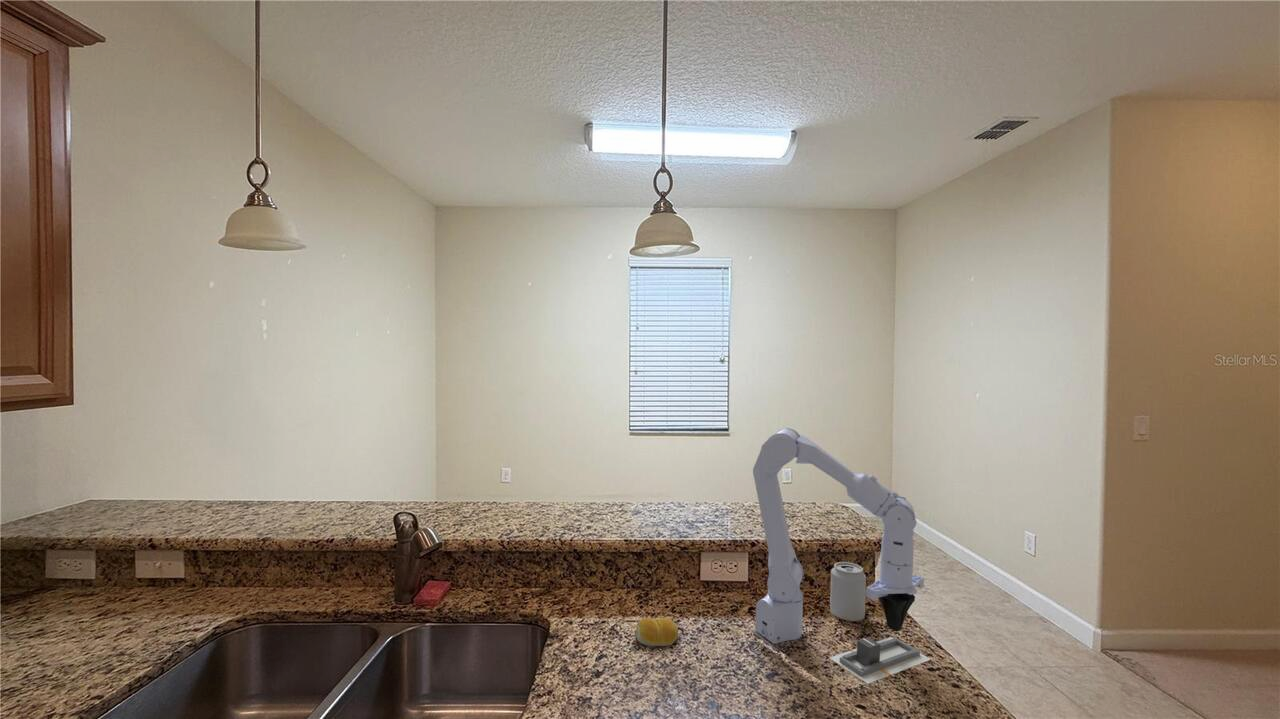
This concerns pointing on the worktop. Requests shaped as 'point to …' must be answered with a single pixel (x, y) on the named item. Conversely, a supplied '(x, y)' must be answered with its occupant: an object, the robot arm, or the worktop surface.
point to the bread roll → (656, 632)
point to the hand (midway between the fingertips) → (894, 628)
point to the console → (882, 660)
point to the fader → (868, 651)
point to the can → (848, 591)
